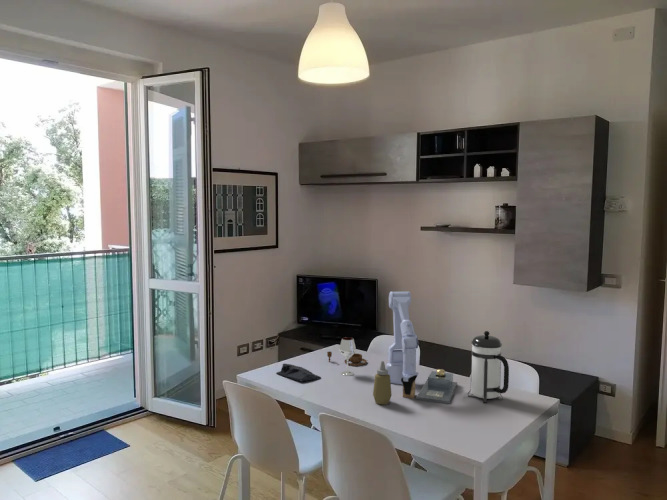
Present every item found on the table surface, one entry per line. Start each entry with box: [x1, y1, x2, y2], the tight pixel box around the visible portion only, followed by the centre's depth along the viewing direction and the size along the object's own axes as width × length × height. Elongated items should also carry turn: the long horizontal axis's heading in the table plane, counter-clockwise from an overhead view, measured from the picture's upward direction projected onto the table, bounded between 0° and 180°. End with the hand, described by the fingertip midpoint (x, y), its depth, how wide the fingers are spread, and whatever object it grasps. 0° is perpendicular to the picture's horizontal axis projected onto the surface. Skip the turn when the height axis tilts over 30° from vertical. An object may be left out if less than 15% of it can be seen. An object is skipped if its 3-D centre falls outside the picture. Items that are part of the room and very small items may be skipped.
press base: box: [415, 371, 458, 405], centre depth 228 cm, size 14×26×5 cm, turn 159°
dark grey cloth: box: [276, 363, 322, 382], centre depth 250 cm, size 15×22×5 cm
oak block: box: [402, 380, 416, 399], centre depth 223 cm, size 4×4×6 cm
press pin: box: [436, 368, 446, 377], centre depth 235 cm, size 4×4×3 cm
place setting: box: [326, 351, 369, 367], centre depth 274 cm, size 18×20×6 cm
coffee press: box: [467, 330, 510, 404], centre depth 219 cm, size 17×16×30 cm
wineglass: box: [339, 336, 357, 377], centre depth 253 cm, size 8×8×18 cm
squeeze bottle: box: [372, 360, 393, 406], centre depth 215 cm, size 8×8×18 cm
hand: (409, 392), depth 223 cm, fingers closed on oak block, 4 cm apart
